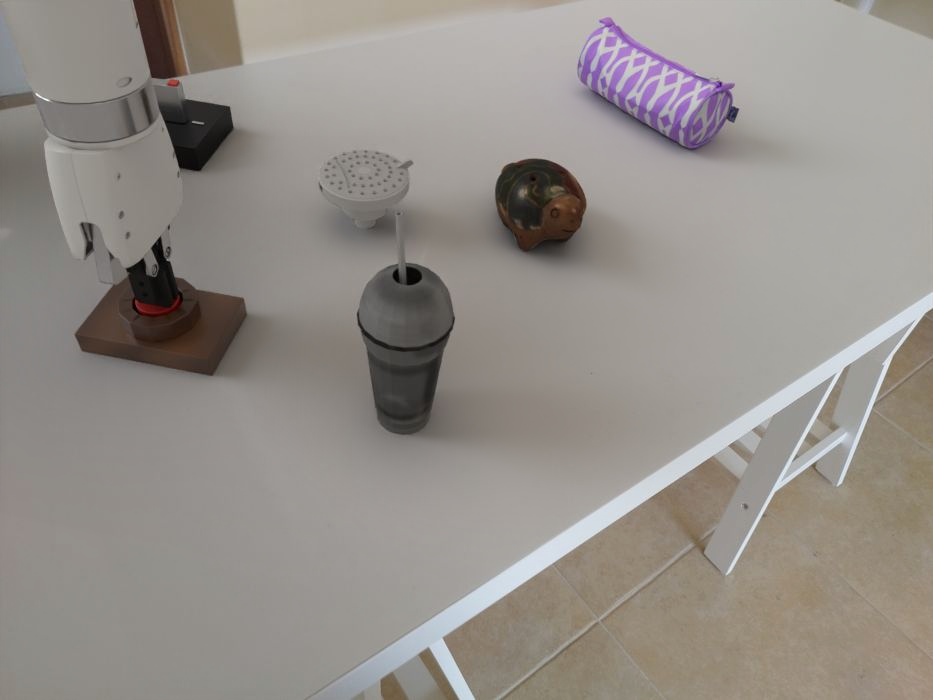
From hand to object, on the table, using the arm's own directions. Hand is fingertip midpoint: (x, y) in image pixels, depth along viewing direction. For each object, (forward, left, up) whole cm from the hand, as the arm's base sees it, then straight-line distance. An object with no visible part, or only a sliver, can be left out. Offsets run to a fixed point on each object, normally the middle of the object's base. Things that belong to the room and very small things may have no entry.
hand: (158, 299), depth 64 cm
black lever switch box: (-14, +30, -4) cm, 34 cm away
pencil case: (+43, +55, -4) cm, 70 cm away
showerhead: (+13, +21, -4) cm, 25 cm away
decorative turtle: (+31, +25, -4) cm, 40 cm away
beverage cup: (+23, -4, -4) cm, 24 cm away
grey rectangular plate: (-14, +30, -1) cm, 33 cm away
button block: (0, 0, -4) cm, 4 cm away
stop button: (0, 0, -2) cm, 2 cm away
